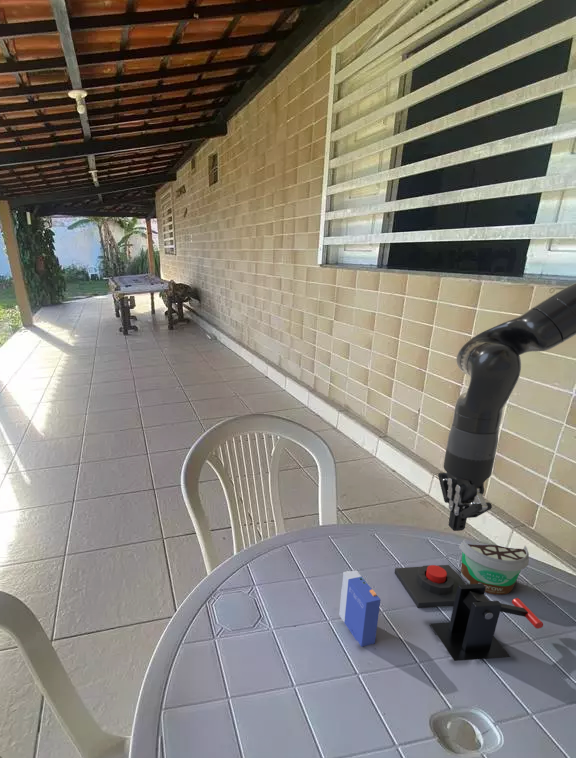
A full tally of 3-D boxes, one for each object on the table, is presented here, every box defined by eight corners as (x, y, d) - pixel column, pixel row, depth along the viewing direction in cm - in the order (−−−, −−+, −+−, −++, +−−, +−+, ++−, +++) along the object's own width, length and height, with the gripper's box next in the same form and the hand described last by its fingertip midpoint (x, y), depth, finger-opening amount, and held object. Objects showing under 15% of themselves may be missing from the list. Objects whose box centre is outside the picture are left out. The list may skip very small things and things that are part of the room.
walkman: (374, 648, 78) (381, 597, 73) (360, 651, 77) (366, 601, 73) (351, 614, 85) (356, 567, 81) (338, 617, 85) (342, 570, 80)
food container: (462, 597, 87) (471, 558, 84) (452, 576, 93) (460, 539, 89) (531, 606, 84) (543, 566, 81) (517, 584, 90) (528, 545, 86)
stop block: (447, 572, 94) (450, 557, 93) (476, 607, 85) (480, 592, 83) (393, 575, 94) (395, 561, 93) (417, 611, 85) (420, 596, 83)
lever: (515, 606, 78) (522, 596, 77) (539, 631, 73) (546, 621, 72) (457, 594, 77) (463, 584, 76) (477, 618, 71) (484, 608, 71)
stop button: (439, 571, 90) (440, 564, 89) (449, 583, 86) (450, 576, 86) (422, 572, 90) (423, 565, 89) (431, 584, 86) (433, 577, 86)
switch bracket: (479, 624, 81) (492, 576, 77) (510, 662, 74) (525, 611, 69) (428, 628, 81) (437, 579, 77) (453, 666, 74) (465, 615, 69)
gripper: (518, 464, 70) (498, 549, 77) (468, 433, 83) (454, 508, 89) (473, 468, 70) (457, 552, 77) (430, 436, 83) (419, 510, 89)
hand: (455, 528), depth 83 cm, fingers closed
